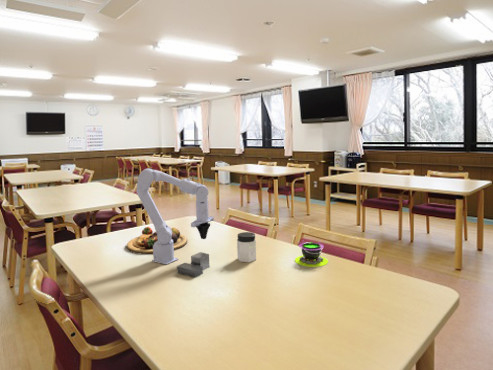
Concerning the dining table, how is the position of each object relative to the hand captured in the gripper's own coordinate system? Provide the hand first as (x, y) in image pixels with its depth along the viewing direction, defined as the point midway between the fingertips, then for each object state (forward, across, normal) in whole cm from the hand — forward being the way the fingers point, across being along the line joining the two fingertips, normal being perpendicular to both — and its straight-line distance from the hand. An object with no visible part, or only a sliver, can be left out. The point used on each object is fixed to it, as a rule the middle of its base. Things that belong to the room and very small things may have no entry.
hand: (203, 238), depth 165 cm
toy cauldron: (+10, +21, -46) cm, 51 cm away
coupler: (+9, -14, -7) cm, 18 cm away
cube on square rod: (+9, -11, -7) cm, 16 cm away
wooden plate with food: (+10, +4, +36) cm, 38 cm away
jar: (+10, +8, -19) cm, 23 cm away
